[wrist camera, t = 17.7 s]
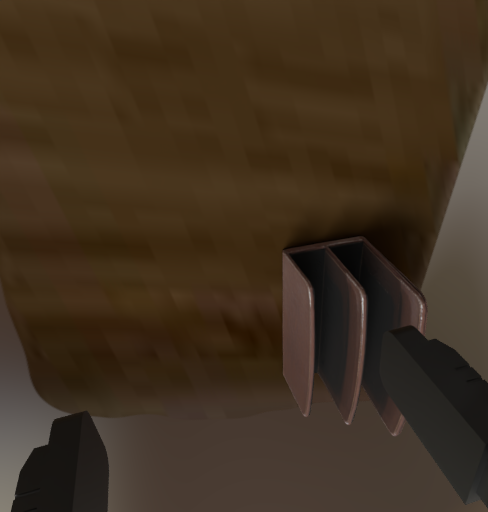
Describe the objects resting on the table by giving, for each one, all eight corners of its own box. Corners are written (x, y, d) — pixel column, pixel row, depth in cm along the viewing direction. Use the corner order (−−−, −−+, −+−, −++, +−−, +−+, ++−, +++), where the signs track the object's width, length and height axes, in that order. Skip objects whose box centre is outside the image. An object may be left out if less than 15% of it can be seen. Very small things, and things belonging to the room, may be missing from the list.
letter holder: (362, 233, 48) (441, 305, 36) (349, 358, 58) (407, 446, 46) (280, 247, 46) (335, 328, 34) (281, 374, 56) (323, 469, 44)
